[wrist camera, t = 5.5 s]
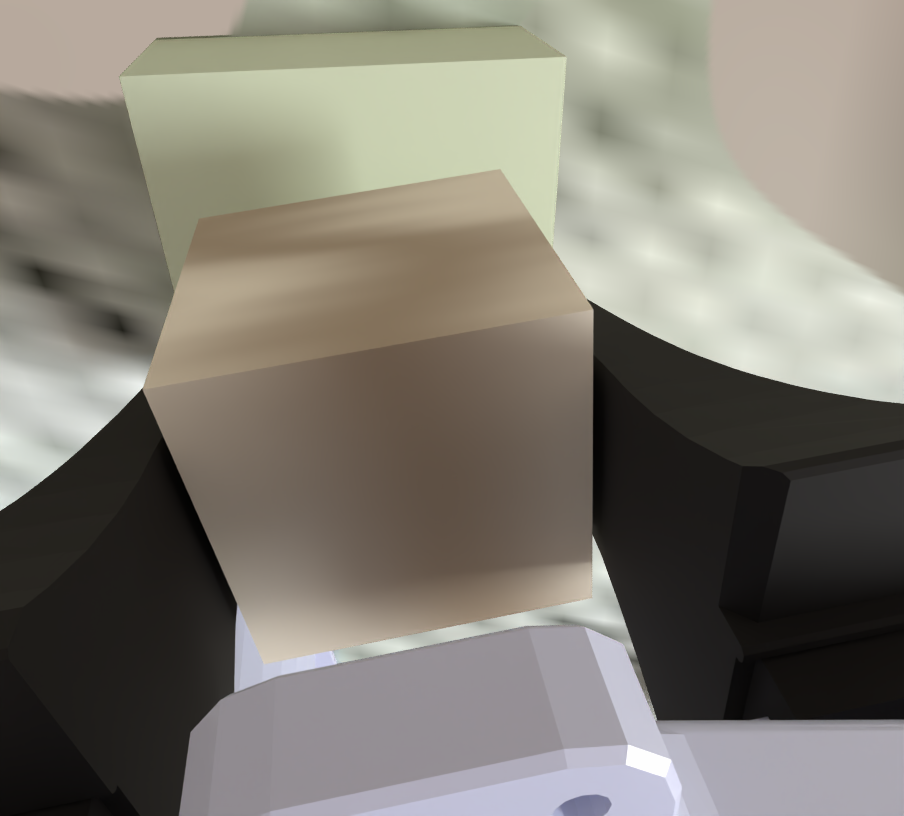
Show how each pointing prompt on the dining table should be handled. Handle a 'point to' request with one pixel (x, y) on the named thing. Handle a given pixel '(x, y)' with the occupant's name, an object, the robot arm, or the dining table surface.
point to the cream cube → (382, 412)
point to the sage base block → (340, 119)
